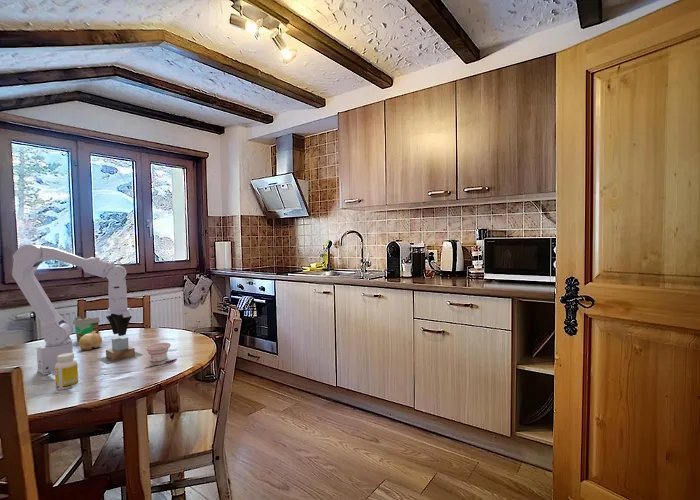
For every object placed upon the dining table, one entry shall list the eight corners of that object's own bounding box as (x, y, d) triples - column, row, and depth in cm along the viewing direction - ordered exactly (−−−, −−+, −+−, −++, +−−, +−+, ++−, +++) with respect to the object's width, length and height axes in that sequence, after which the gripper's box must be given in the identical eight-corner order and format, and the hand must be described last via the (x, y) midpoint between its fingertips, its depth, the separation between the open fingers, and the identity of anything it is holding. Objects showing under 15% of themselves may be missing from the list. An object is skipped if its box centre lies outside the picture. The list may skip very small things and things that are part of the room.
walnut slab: (113, 361, 129) (113, 353, 129) (106, 357, 133) (105, 349, 133) (134, 355, 135) (134, 348, 135) (126, 352, 139) (126, 345, 139)
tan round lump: (100, 349, 147) (99, 332, 147) (76, 353, 144) (75, 335, 144) (103, 344, 155) (103, 328, 154) (81, 347, 151) (80, 330, 151)
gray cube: (116, 351, 131) (116, 340, 131) (112, 349, 134) (111, 338, 133) (128, 348, 134) (128, 337, 134) (124, 346, 137) (123, 336, 137)
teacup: (184, 358, 134) (183, 342, 134) (159, 370, 122) (158, 352, 122) (157, 356, 137) (156, 340, 137) (130, 367, 126) (130, 350, 125)
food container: (66, 341, 161) (65, 319, 161) (80, 337, 167) (79, 316, 167) (87, 343, 158) (86, 320, 158) (100, 339, 164) (99, 317, 163)
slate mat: (107, 367, 126) (107, 364, 126) (96, 361, 132) (96, 359, 132) (143, 357, 136) (143, 354, 136) (132, 352, 142) (132, 350, 142)
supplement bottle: (82, 382, 112) (81, 351, 112) (69, 390, 107) (68, 357, 107) (64, 383, 112) (63, 352, 112) (51, 390, 107) (49, 358, 107)
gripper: (138, 298, 132) (139, 334, 133) (121, 295, 141) (123, 329, 141) (116, 300, 127) (118, 339, 127) (100, 297, 135) (102, 333, 136)
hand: (119, 334), depth 134 cm, fingers open, 4 cm apart
